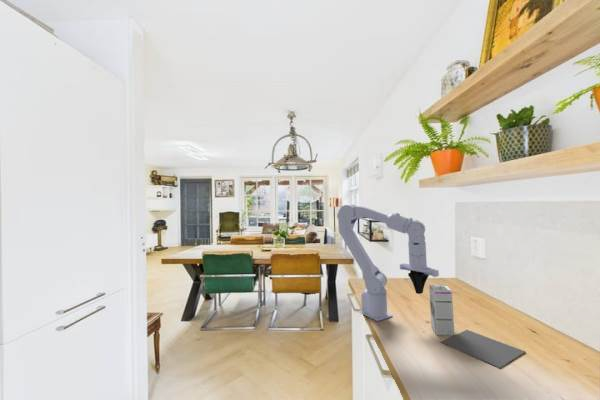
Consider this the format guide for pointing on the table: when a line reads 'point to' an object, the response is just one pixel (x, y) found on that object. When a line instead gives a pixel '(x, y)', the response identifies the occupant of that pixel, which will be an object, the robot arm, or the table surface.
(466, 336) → the rubber mat
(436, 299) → the syrup box
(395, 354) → the table surface
